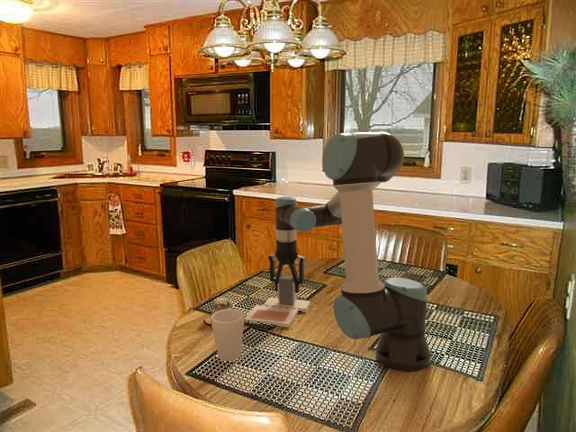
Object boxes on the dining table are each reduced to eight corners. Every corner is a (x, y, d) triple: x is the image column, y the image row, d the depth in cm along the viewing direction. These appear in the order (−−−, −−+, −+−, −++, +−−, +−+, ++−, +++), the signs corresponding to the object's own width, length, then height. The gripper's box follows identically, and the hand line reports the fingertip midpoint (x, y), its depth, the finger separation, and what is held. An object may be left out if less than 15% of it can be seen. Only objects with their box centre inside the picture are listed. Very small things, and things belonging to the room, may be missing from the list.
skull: (236, 325, 146) (215, 303, 145) (215, 343, 148) (194, 321, 147) (245, 309, 157) (225, 289, 156) (225, 326, 160) (206, 306, 159)
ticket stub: (306, 312, 157) (305, 282, 154) (264, 308, 161) (263, 278, 159) (310, 304, 163) (310, 275, 161) (270, 300, 168) (269, 272, 165)
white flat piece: (288, 328, 145) (288, 323, 145) (244, 323, 149) (243, 318, 149) (298, 312, 157) (298, 308, 157) (256, 308, 162) (256, 304, 161)
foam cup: (230, 345, 134) (228, 306, 131) (252, 355, 128) (250, 314, 126) (206, 358, 127) (204, 317, 124) (228, 369, 121) (226, 326, 118)
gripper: (313, 238, 158) (313, 298, 163) (265, 235, 163) (267, 294, 168) (308, 243, 151) (308, 306, 156) (259, 240, 156) (261, 301, 161)
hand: (287, 299), depth 162 cm, fingers closed on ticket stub, 5 cm apart
